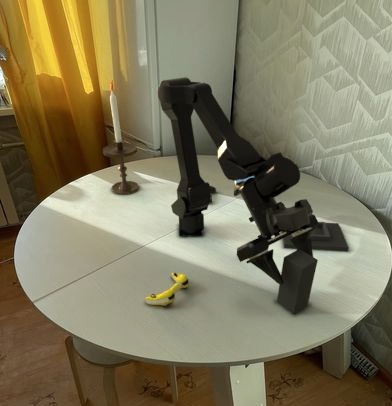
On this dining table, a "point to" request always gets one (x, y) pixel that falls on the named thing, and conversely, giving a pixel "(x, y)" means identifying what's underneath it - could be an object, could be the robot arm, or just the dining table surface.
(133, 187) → the candlestick
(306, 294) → the dark rectangular block
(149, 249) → the dining table surface
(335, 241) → the base pad
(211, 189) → the gaming controller
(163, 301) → the yellow toy animal
